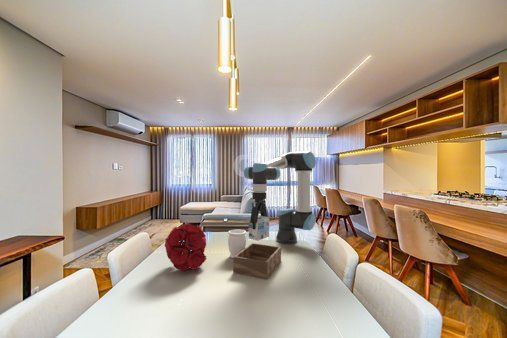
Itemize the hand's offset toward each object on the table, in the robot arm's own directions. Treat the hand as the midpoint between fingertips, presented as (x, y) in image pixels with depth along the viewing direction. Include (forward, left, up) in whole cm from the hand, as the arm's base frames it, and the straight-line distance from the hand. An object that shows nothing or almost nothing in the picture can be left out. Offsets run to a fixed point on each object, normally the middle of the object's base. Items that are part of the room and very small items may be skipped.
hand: (258, 232), depth 125 cm
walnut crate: (0, 0, -18) cm, 18 cm away
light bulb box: (0, 0, -3) cm, 3 cm away
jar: (-8, -17, -18) cm, 26 cm away
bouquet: (+15, -34, -19) cm, 42 cm away
